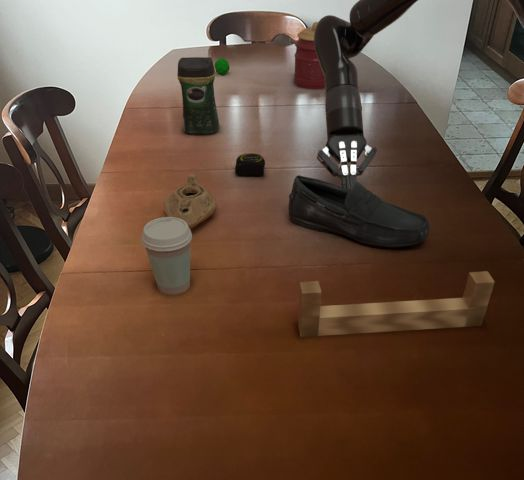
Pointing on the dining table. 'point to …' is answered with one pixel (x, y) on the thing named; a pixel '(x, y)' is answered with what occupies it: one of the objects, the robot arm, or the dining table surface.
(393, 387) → the dining table surface
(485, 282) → the wooden u-shaped bracket
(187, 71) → the coffee jar
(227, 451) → the dining table surface
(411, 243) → the loafer
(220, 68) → the polyhedron
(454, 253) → the dining table surface
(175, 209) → the oil lamp
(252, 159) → the tape measure
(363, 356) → the dining table surface
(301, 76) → the kitchen canister
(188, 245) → the coffee cup
